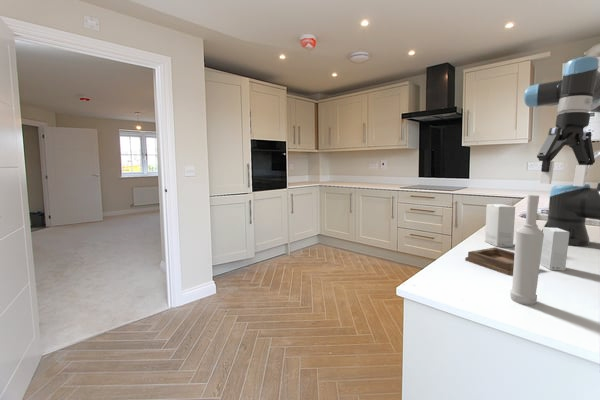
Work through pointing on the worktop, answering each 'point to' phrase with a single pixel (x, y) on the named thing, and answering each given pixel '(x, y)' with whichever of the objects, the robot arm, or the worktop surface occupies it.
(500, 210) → the skincare box
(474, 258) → the brown square tray
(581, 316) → the worktop surface
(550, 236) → the skincare box
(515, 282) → the bottle
